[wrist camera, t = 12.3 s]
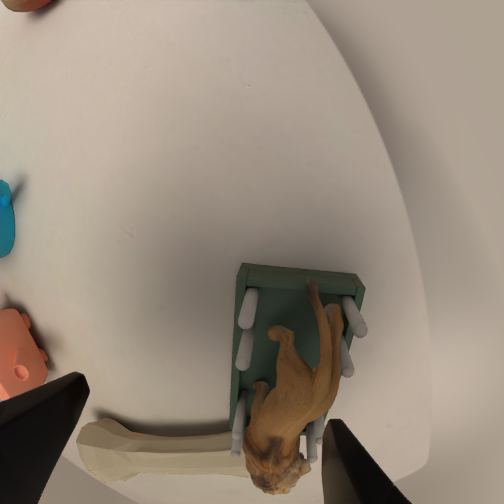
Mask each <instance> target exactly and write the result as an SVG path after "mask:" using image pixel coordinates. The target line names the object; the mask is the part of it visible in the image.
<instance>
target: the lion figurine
mask: <svg viewBox="0 0 504 504" xmlns="http://www.w3.org/2000/svg"><path fill="white" fill-rule="evenodd" d="M307 296H308V299H309V300H310V302H311V304H312V306H313V308H314V311H315V314H316V317H317V321H318V327H319V333H320V359H319V362H318V364H317V366H316V367H315V368H314V369H311V368H310V367H309V366H308V364H307V363H306V362H305V361H304V359H303V358H302V357H301V356H300V355H299V354H298V352H297V351H296V349H295V348H294V345H293V341H294V332H292V331H291V330H288V329H286V328H285V327H283V326H280V325H276V326H273V327H271V328H270V329H269V330H268V336H269V338H270V339H271V340H273V341H275V342H280V349H279V354H278V358H277V365H276V371H277V381H276V387H275V388H274V389H272V391H271V392H270V393H269V394H268V391H269V387H268V384H267V383H266V382H264V381H257V382H254V384H253V388H254V389H255V390H256V394H255V397H254V401H253V404H252V407H251V420H250V425H248V427H247V429H246V431H245V433H244V437H243V445H244V447H243V452H244V454H245V459H246V469H247V471H248V472H249V473H250V476H251V479H252V481H253V484H254V485H255V486H256V487H258V488H260V489H262V490H263V492H264V493H269V494H273V495H275V494H287V493H289V492H290V488H292V487H294V486H295V485H296V483H297V481H298V479H299V478H300V476H302V475H304V474H306V473H308V472H310V471H311V468H310V463H309V461H308V460H307V459H304V456H303V453H299V447H300V435H299V433H300V432H301V431H302V430H303V429H304V428H305V426H306V425H307V423H309V422H311V421H313V420H316V419H318V418H319V417H321V416H322V415H323V414H325V413H326V412H327V411H328V410H329V409H330V408H331V406H332V404H333V402H334V400H335V397H336V395H337V391H338V387H339V378H340V368H339V345H340V339H341V334H342V332H343V328H344V324H343V320H342V316H341V307H340V306H339V305H338V304H334V303H331V304H328V305H327V306H326V307H325V308H324V309H323V306H322V304H321V302H320V300H319V296H318V286H317V285H316V281H315V279H314V278H312V277H309V278H307ZM328 322H330V324H329V323H328ZM267 394H268V396H267Z"/></svg>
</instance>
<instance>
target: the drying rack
mask: <svg viewBox="0 0 504 504" xmlns="http://www.w3.org/2000/svg"><path fill="white" fill-rule="evenodd" d="M309 277H312V278H314V279H315V281H316V285H317V286H318V296H319V300H320V302H321V304H322V306H323V309H324V308H325V307H326V306H327V305H328V304H331V303H334V304H338V305H339V306H340V307H341V316H342V320H343V324H344V328H343V332H342V334H341V339H340V345H339V368H340V377H341V374H342V376H344V377H346V378H348V377H351V376H352V375H353V374H354V366H353V363H352V360H351V357H350V354H349V349H350V346H351V342H352V339H353V336H354V335H355V336H356V337H358V338H362V337H364V336H365V335H366V334H367V332H368V328H367V326H366V324H365V322H364V320H363V318H362V316H361V314H360V309H361V305H362V301H363V297H364V293H365V289H366V288H365V286H364V285H363V283H362V282H361V281H360V279H359V278H358V276H357V275H356V274H350V273H339V272H328V271H317V270H307V269H296V268H286V267H276V266H266V265H256V264H246V263H242V265H241V267H240V270H239V272H238V275H237V281H236V298H235V316H234V334H233V354H232V374H231V396H230V420H229V429H232V437H233V443H232V448H231V456H232V457H234V458H237V457H239V456H240V455H241V451H242V444H243V437H244V432H245V431H246V429H247V427H248V425H250V420H251V407H252V404H253V401H254V397H255V394H256V390H255V389H254V388H253V384H254V382H257V381H264V382H266V383H267V384H268V387H269V391H268V394H269V393H270V392H271V391H272V389H274V388H275V387H276V381H277V371H276V365H277V358H278V354H279V349H280V342H275V341H273V340H271V339H270V338H269V336H268V330H269V329H270V328H271V327H273V326H276V325H280V326H283V327H285V328H286V329H288V330H291V331H292V332H294V341H293V345H294V348H295V349H296V351H297V352H298V354H299V355H300V356H301V357H302V358H303V359H304V361H305V362H306V363H307V364H308V366H309V367H310V368H311V369H314V368H315V367H316V366H317V364H318V362H319V359H320V333H319V327H318V321H317V317H316V314H315V311H314V308H313V306H312V304H311V302H310V300H309V299H308V296H307V278H309ZM328 323H329V324H330V322H328ZM339 380H340V378H339ZM268 394H267V396H268ZM328 411H329V410H328ZM328 411H327V412H326V413H325V414H323V415H322V416H321V417H319V418H318V419H316V420H313V421H311V422H309V423H307V425H306V426H305V428H304V429H303V430H302V431H301V432H300V433H299V435H306V444H307V460H308V461H309V462H311V463H313V462H315V461H316V460H317V447H316V443H317V444H318V445H322V437H323V432H324V430H325V425H324V421H325V418H326V416H327V413H328Z"/></svg>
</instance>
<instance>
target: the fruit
mask: <svg viewBox="0 0 504 504" xmlns="http://www.w3.org/2000/svg"><path fill="white" fill-rule="evenodd" d="M1 1H2V2H3V4H4V5H5V6H6V7H7V8H8V9H10V10H12V11H14V12H30V11H33V10H36V9H39V8H41V7H43V6H45V5H46V4H48V3H49V2H50V1H51V0H1Z"/></svg>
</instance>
